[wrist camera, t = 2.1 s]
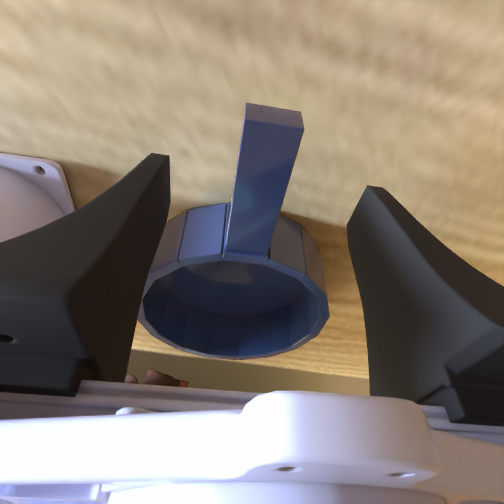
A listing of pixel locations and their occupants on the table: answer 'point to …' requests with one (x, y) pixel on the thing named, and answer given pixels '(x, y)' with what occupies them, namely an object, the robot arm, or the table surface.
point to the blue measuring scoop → (241, 259)
